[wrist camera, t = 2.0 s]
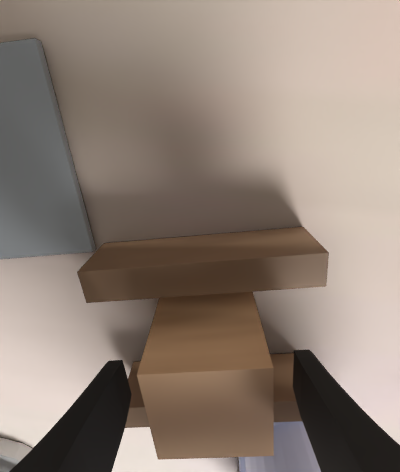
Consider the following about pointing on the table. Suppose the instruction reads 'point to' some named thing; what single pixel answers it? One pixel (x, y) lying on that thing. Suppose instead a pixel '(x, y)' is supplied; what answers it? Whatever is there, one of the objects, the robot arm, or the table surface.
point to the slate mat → (36, 162)
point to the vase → (11, 453)
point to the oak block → (208, 378)
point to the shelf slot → (208, 283)
